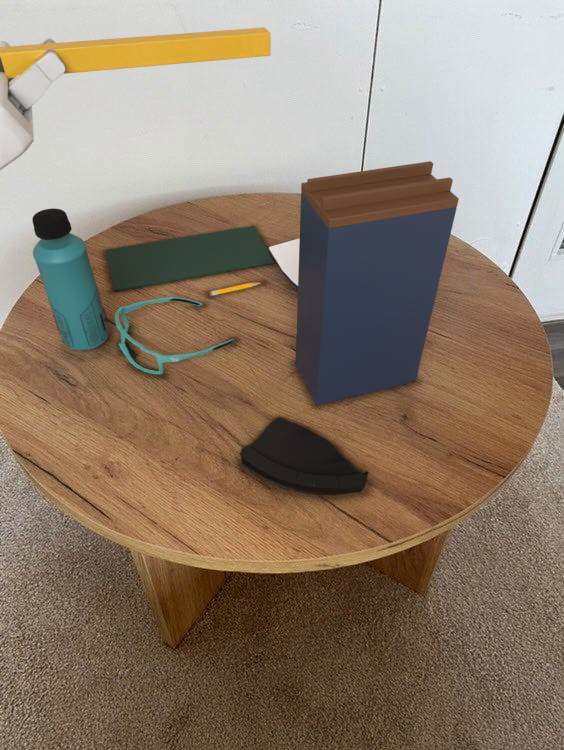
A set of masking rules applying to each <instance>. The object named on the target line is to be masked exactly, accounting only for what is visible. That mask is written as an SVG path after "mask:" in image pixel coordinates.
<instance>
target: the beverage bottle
mask: <svg viewBox="0 0 564 750" xmlns="http://www.w3.org/2000/svg"><path fill="white" fill-rule="evenodd" d="M31 220H32V226H33V232H34V234H35V237H37V238H38V239H39V240H38V241H37V242H36V244H35V245H34V247H33V249H32V256H33V259H34V260H35V263H36V267H37V269H38V272H39V275H40V278H41V281H42V284H43V286H44V291H45V293H46V296H47V297H46V299H47V302H48V303H49V306H50V309H51V312H52V316H53V319H54V322H55V326H56V328H57V331H58V332H59V335H60V338H61V340H62V342H63V343H64V344H65V345H66V346H67V347H68V348H69V349H71V350H75V351H89V350H93V349H96V348H99V346H101V345H102V344H104V343H105V342H106V341H107V340H108V338H109V333H110V330H111V329H110V326H109V324H108V323H109V321H108V317H107V314H106V310H105V308H104V305H103V300H102V295H101V292H100V289H99V287H98V284H97V280H96V277H95V275H96V274H95V272H94V270H93V267H92V265H91V261H90V257H89V254H88V251H87V245H86V242H85V241H84V239H83V238H81V237H80V236H78V235H76V234H74V233H71V232H72V225H71V222H70V220H69V217H68V214H67V213H66V211H65V210H63V209H61V208H45V209H42V210H39V211H38V212H36V213H35V214H33V216H32V219H31Z"/></svg>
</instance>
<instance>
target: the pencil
mask: <svg viewBox="0 0 564 750" xmlns="http://www.w3.org/2000/svg"><path fill="white" fill-rule="evenodd" d="M258 285H261V282H247V283H243V284H237V285H234V286H229V287H225V288H221V289H220V288H219V289H216V290H212V291H211V290H210V291H208V294H209V297H212V296H218V295H223V294H227V293H231V292H236V291H241V290H244V289H249V288H253V287H256V286H258Z"/></svg>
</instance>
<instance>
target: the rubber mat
mask: <svg viewBox="0 0 564 750" xmlns="http://www.w3.org/2000/svg"><path fill="white" fill-rule="evenodd" d="M105 252H106V257H107V258H106V259H107V262H108V268H109V272H110V277H111V282H112V287H113V291H114V292H116V293H117V292H121V291H126V290H133V289H137V288H138V289H139V288H144V287H149V286H153V285H154V286H155V285H161V284H166V283H171V282H172V283H173V282H176V281H177V282H178V281H182V280H188V279H194V278H199V277H205V276H210V275H211V276H212V275H216V274H222V273H227V272H228V273H229V272H233V271H234V272H235V271H240V270H244V269H250V268H255V267H261V266H267V265H273V264H274V263H275V260H274V258H273V257H272V255H271V253H270V252H269V249H267V246H266V245H265V243H264V241H263V240H262V237H261V236H260V234H259V232H258V231H257V229H256V227H255V226H254V225H250V226H243V227H238V228H233V229H226V230H219V231H214V232H207V233H201V234H195V235H189V236H182V237H176V238H170V239H164V240H157V241H152V242H145V243H139V244H133V245H127V246H126V245H125V246H121V247H115V248H108V249H105Z"/></svg>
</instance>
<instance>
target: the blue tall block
mask: <svg viewBox="0 0 564 750" xmlns="http://www.w3.org/2000/svg"><path fill="white" fill-rule="evenodd" d="M433 167H434V162H432V160H429V161H423V162H415V163H408V164H401V165H397V166H396V165H395V166H388V167H380V168H375V169H368V170H362V171H355V172H347V173H340V174H333V175H327V176H319V177H313V178H307V179H306V180H307V181H306V182H301V184H300V214H299V238H300V242H299V273H298V288H297V303H296V306H297V307H296V308H297V309H296V335H295V336H296V337H295V339H296V340H295V367H296V368H297V371H298V373H299V375H300V377H301V379H302V380H303V382H304V385H305V386H306V389H307V390H308V392H309V395H310V396H311V398H312V400H313V402H314V404H315V406H321V405H325V404H329V403H333V402H338V401H341V400H346V399H350V398H354V397H359V396H362V395H363V396H364V395H366V394H371V393H375V392H379V391H384V390H387V389H392V388H395V387H399V386H404V385H408V384H412V383H416V381H417V377H418V373H419V369H420V364H421V360H422V357H423V356H422V355H423V352H424V349H425V343H426V339H427V336H428V335H427V334H428V331H429V327H430V322H431V318H432V314H433V309H434V305H435V301H436V297H437V293H438V288H439V285H440V280H441V277H442V272H443V268H444V265H445V264H444V263H445V260H446V255H447V250H448V247H449V243H450V238H451V234H452V229H453V226H454V222H455V216H456V213H457V210H458V209H457V208H458V203H459V201H460V199H459V197H458V196H456V194H454V193H453V192H452V191H451V190H452V186H453V182H454V181H453V178H452V177H443V178H436V177H435V176H434V175H433V174H432V172H433V169H434V168H433Z"/></svg>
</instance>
